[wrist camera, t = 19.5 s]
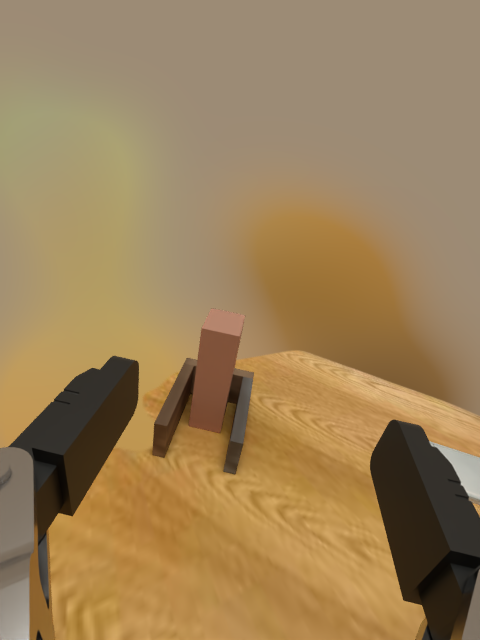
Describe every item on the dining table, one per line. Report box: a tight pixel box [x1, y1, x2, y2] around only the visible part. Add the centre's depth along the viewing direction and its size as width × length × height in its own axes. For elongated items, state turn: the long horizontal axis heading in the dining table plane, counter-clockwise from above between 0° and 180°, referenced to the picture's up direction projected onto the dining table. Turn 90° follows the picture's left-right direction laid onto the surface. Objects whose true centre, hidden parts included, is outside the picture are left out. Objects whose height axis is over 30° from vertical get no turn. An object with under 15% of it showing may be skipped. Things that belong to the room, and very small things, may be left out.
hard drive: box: [429, 441, 480, 505], centre depth 44 cm, size 2×8×12 cm
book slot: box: [153, 358, 254, 474], centre depth 44 cm, size 10×14×6 cm
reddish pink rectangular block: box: [189, 308, 245, 433], centre depth 43 cm, size 4×6×16 cm
